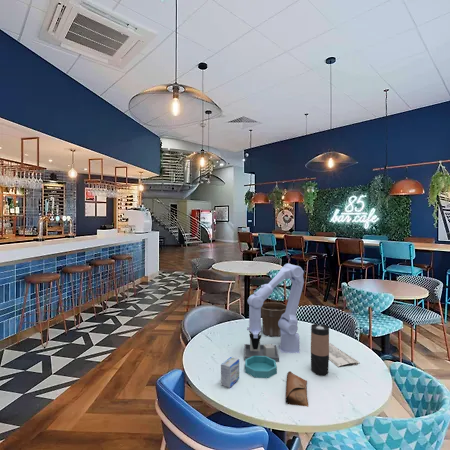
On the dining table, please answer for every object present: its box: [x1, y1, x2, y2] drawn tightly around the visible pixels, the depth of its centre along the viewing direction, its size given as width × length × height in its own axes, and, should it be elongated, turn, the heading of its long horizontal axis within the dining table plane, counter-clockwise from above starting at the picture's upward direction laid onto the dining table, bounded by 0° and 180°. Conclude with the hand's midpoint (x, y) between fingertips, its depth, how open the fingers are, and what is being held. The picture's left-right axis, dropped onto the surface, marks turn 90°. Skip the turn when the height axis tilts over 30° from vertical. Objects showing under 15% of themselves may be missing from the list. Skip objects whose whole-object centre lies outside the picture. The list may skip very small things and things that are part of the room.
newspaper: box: [329, 342, 360, 368], centre depth 142 cm, size 23×12×2 cm, turn 14°
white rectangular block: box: [249, 337, 261, 351], centre depth 140 cm, size 5×4×5 cm
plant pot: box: [261, 302, 287, 338], centre depth 169 cm, size 16×16×16 cm
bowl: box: [244, 356, 278, 379], centre depth 126 cm, size 14×14×3 cm
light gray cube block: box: [263, 343, 275, 357], centre depth 140 cm, size 4×4×4 cm
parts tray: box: [244, 343, 280, 363], centre depth 140 cm, size 16×13×2 cm
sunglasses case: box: [285, 371, 309, 408], centre depth 111 cm, size 18×7×7 cm, turn 167°
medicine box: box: [220, 356, 240, 389], centre depth 117 cm, size 8×4×9 cm, turn 148°
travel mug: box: [310, 323, 330, 377], centre depth 126 cm, size 8×8×20 cm
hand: (255, 346), depth 140 cm, fingers closed on white rectangular block, 4 cm apart
